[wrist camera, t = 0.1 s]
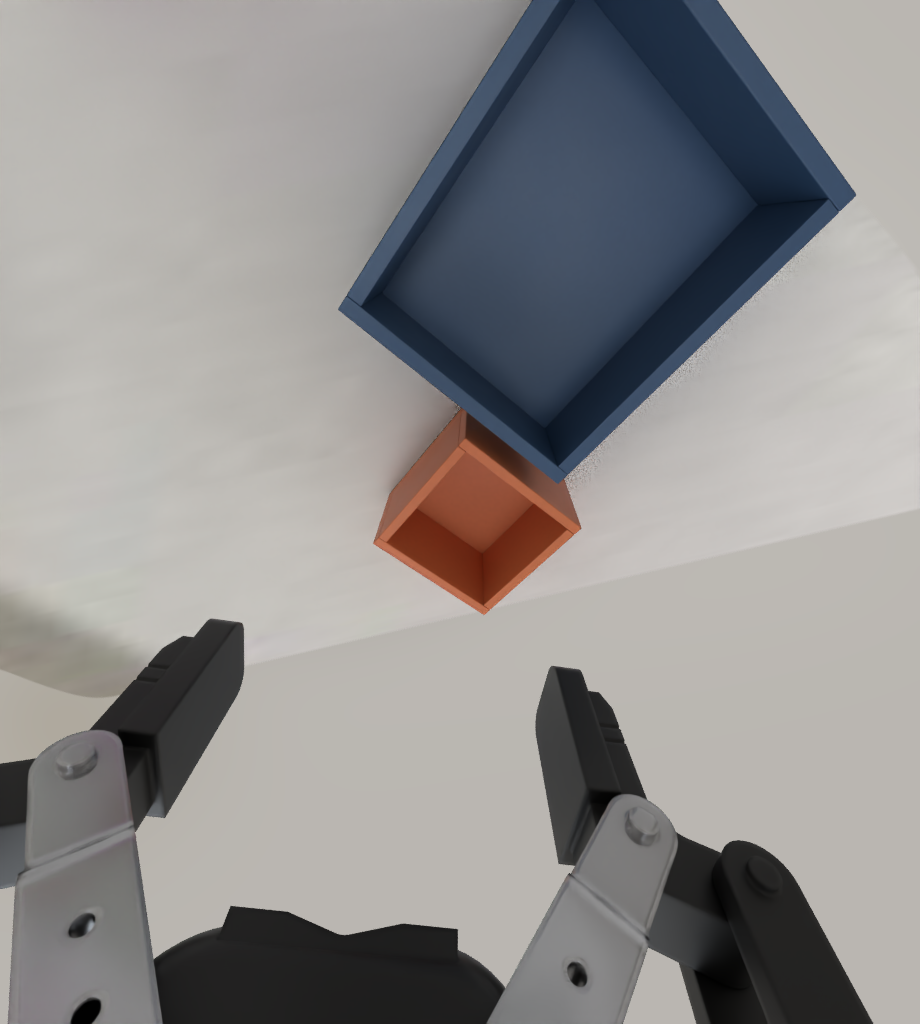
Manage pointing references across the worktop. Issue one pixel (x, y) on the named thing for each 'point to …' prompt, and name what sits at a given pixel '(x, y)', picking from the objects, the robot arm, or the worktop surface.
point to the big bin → (594, 219)
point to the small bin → (475, 515)
